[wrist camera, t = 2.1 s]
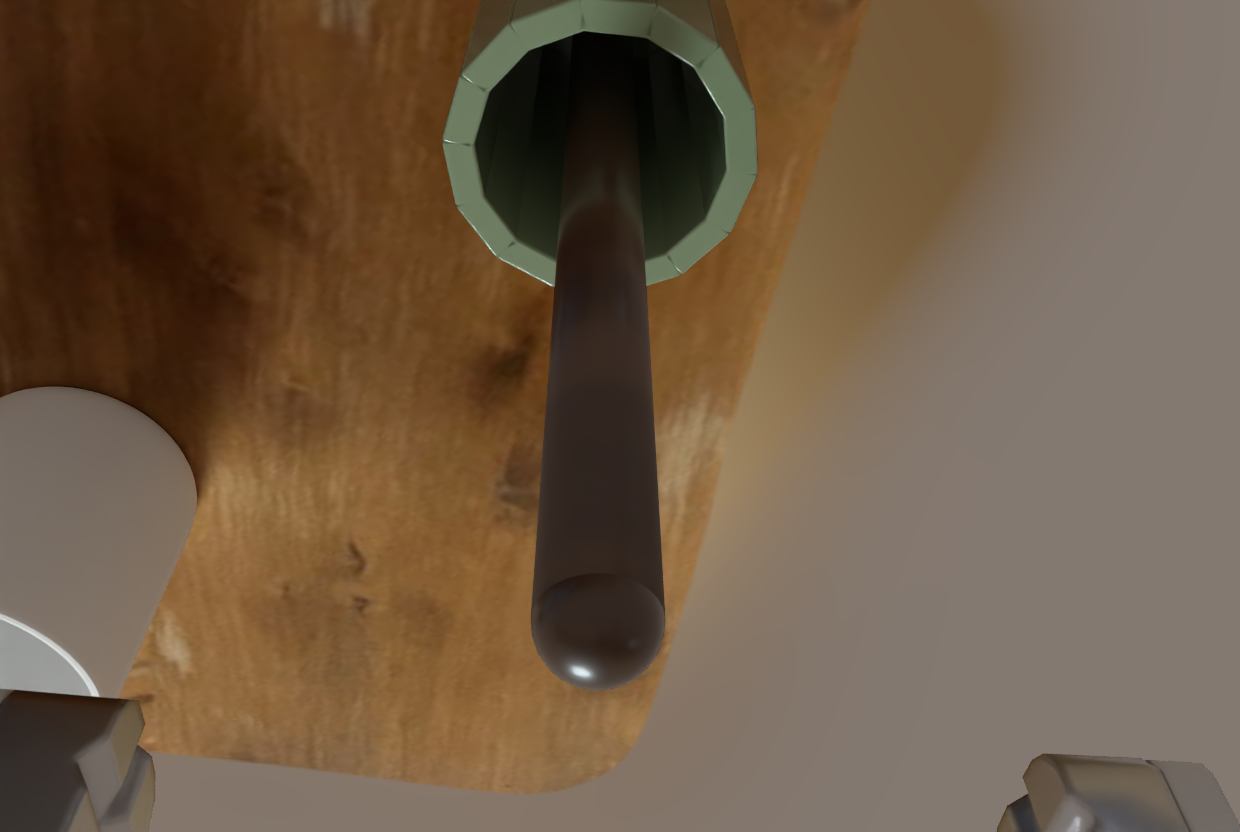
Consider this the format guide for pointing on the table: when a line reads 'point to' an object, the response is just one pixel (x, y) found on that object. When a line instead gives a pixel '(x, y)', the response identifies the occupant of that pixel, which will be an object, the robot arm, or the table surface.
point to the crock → (666, 123)
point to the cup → (84, 537)
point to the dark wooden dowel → (599, 397)
